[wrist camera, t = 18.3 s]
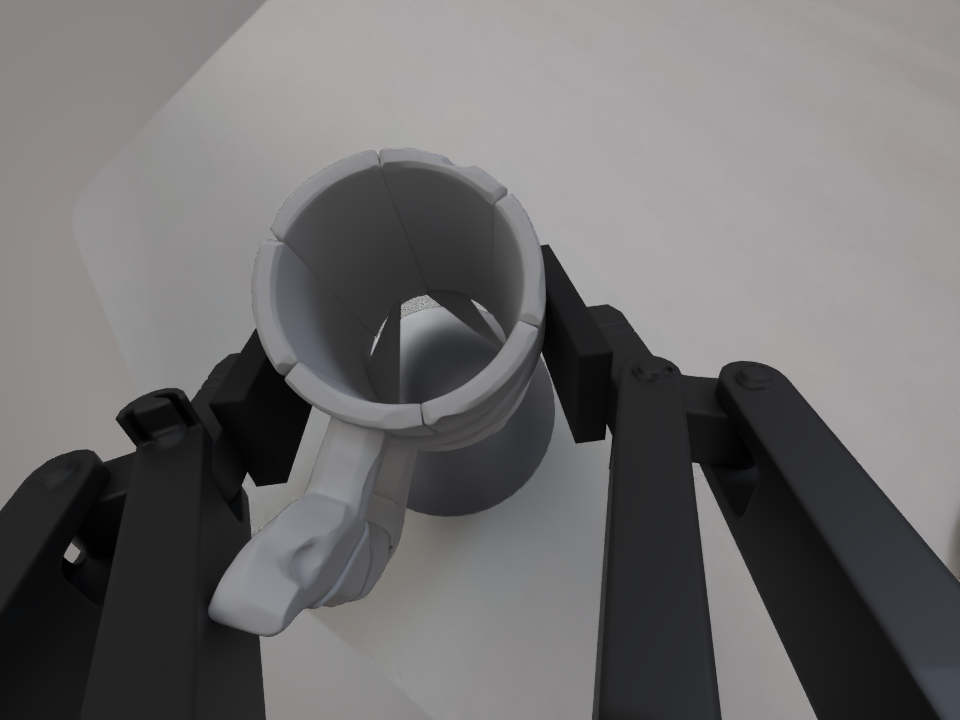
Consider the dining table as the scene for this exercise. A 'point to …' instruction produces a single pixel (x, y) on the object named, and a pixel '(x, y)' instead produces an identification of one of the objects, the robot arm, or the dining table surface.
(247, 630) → the mug
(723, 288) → the dining table surface
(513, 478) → the grey round piece
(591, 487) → the dining table surface
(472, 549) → the dining table surface
